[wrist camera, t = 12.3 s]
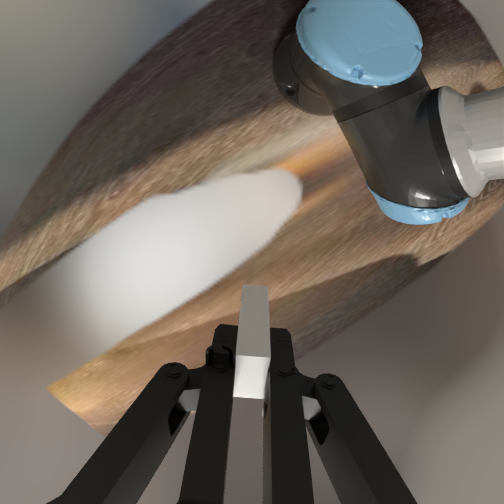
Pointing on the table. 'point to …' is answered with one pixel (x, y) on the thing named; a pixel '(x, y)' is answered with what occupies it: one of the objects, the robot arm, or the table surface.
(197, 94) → the table surface
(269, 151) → the table surface
